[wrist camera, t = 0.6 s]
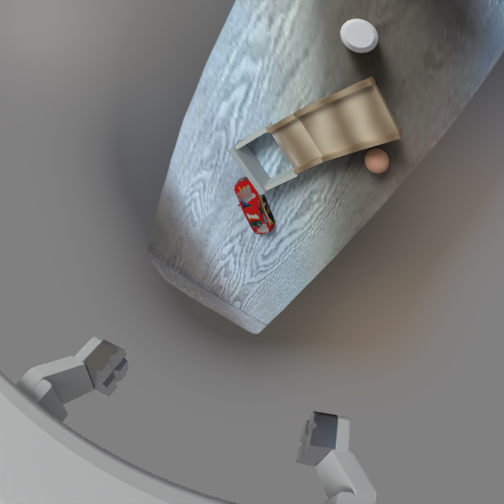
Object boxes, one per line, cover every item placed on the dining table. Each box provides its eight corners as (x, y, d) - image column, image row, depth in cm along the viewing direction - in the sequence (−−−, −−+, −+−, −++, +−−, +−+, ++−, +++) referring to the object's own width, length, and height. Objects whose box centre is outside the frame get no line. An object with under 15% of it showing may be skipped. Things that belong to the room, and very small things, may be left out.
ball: (381, 141, 45) (383, 149, 42) (392, 162, 46) (394, 172, 43) (360, 150, 47) (360, 159, 44) (370, 170, 49) (371, 181, 46)
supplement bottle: (372, 56, 36) (376, 58, 29) (340, 47, 37) (336, 47, 30) (377, 28, 32) (382, 23, 25) (344, 19, 33) (341, 12, 26)
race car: (234, 178, 61) (226, 186, 58) (257, 172, 58) (250, 181, 55) (256, 228, 67) (250, 239, 65) (278, 226, 65) (273, 236, 62)
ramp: (370, 73, 38) (373, 77, 32) (397, 122, 41) (404, 137, 35) (271, 123, 50) (257, 138, 44) (299, 165, 53) (290, 186, 47)
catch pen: (271, 121, 49) (263, 129, 46) (301, 167, 54) (296, 178, 50) (238, 141, 54) (227, 150, 51) (267, 183, 58) (260, 195, 55)
